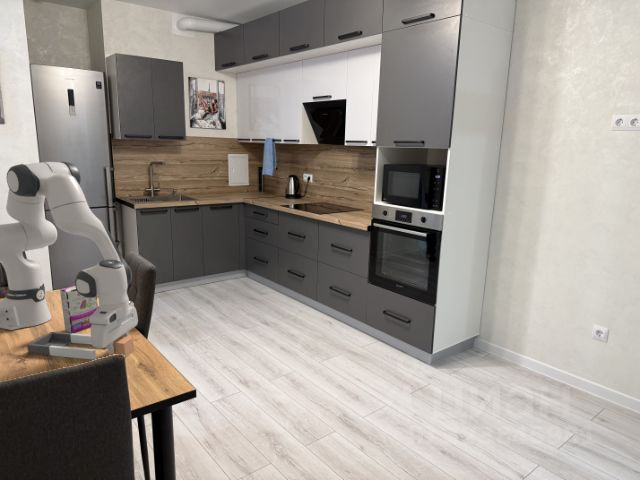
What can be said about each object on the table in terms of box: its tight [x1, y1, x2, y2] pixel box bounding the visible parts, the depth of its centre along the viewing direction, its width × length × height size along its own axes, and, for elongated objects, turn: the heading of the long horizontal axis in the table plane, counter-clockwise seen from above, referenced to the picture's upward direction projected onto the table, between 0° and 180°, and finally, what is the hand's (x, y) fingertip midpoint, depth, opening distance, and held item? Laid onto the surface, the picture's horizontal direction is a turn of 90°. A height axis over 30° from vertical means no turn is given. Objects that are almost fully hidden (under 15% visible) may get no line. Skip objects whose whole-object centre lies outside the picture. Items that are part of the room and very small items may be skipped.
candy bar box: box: [59, 285, 99, 334], centre depth 168 cm, size 11×5×16 cm, turn 148°
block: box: [107, 336, 135, 358], centre depth 148 cm, size 6×5×5 cm
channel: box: [49, 333, 97, 360], centre depth 151 cm, size 16×11×3 cm
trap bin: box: [26, 331, 72, 356], centre depth 153 cm, size 8×11×3 cm
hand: (118, 348), depth 149 cm, fingers closed on block, 5 cm apart
